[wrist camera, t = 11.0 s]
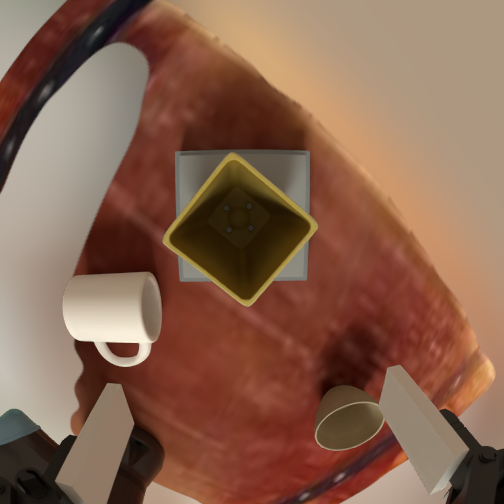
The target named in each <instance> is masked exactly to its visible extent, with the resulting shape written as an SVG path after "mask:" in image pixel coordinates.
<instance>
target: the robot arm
mask: <svg viewBox="0 0 504 504" xmlns="http://www.w3.org/2000/svg"><path fill="white" fill-rule="evenodd" d="M378 408H379V410H380V411H381V413H382V415H383V416H384V418H385V420H386V421H387V423H388V425H389V426H390V428H391V430H392V431H393V433H394V435H395V436H396V438H397V440H398V442H399V443H400V445H401V447H402V448H403V450H404V452H405V453H406V455H407V457H408V459H409V460H410V462H411V464H412V465H413V467H414V469H415V470H416V472H417V474H418V476H419V478H420V479H421V481H422V483H423V484H424V486H425V488H426V490H427V492H428V493H429V494H430V495H431V494H433V493H435V492H437V491H440V490H442V489H444V488H445V486H446V485H447V483H448V482H449V481H450V482H451V484H452V487H451V488H450V489H449V490H448V492H447V493H446V494H445V496H444V499H446V497H447V496H448V498H447V501H446V504H504V449H500V450H495V449H494V448H493V447H489V446H481V445H480V444H479V443H478V442H477V440H476V439H475V438H474V437H473V436H472V434H471V433H470V432H469V431H468V430H467V428H466V427H464V425H463V424H462V423H461V422H460V421H459V419H458V418H457V417H456V415H455V414H454V413H452V412H450V411H449V410H447V409H442V410H440V411H438V410H437V408H436V407H435V406H434V405H433V403H432V402H431V401H430V400H429V399H428V397H427V396H426V395H425V394H424V393H423V391H422V390H421V389H420V388H419V387H418V385H417V384H416V383H415V382H414V381H413V379H412V378H411V377H410V376H409V375H408V374H407V372H406V371H405V370H404V369H403V368H402V367H401V365H398V366H393V367H388V368H387V372H386V377H385V381H384V386H383V390H382V394H381V398H380V402H379V406H378ZM163 461H164V452H163V449H162V448H161V446H160V445H159V443H158V442H157V441H156V440H155V439H154V438H153V437H152V436H150V435H149V434H148V433H146V432H145V431H143V430H142V429H140V428H138V427H136V426H134V421H133V418H132V415H131V413H130V410H129V407H128V404H127V401H126V398H125V395H124V392H123V389H122V385H121V384H113V383H107V385H106V386H105V388H104V390H103V392H102V393H101V395H100V397H99V399H98V400H97V402H96V404H95V406H94V408H93V409H92V411H91V413H90V415H89V417H88V418H87V420H86V422H85V424H84V426H83V428H82V429H81V431H80V433H79V435H78V436H73V435H69V436H67V437H66V438H65V439H64V440H63V441H62V442H61V444H60V445H58V444H57V443H56V442H55V441H54V440H52V439H51V438H50V437H49V436H48V435H47V434H46V433H45V432H44V431H43V430H41V427H40V426H39V425H36V424H35V423H34V422H33V421H32V420H31V419H30V418H29V417H28V416H26V415H25V414H24V413H23V412H22V411H20V410H18V409H10V410H8V411H7V412H6V413H4V414H3V415H2V416H1V417H0V504H143V500H144V495H145V492H146V489H147V487H148V486H149V485H150V483H151V482H152V481H153V480H154V478H155V477H156V476H157V474H158V473H159V472H160V470H161V469H162V466H163Z"/></svg>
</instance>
